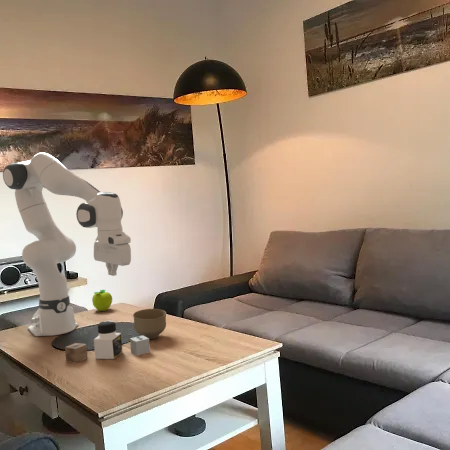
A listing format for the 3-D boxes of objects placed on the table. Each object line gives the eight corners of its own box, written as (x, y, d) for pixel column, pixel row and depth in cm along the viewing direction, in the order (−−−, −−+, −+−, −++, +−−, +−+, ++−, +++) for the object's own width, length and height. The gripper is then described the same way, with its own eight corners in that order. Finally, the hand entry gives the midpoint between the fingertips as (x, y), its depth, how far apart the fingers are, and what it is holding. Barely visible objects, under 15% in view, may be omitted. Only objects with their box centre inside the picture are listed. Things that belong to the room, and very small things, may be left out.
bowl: (144, 345, 181) (142, 319, 180) (129, 338, 191) (127, 312, 190) (173, 337, 188) (172, 312, 187) (158, 330, 198) (156, 306, 198)
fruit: (89, 312, 235) (87, 292, 234) (100, 307, 244) (98, 287, 243) (106, 313, 232) (104, 292, 231) (116, 308, 241) (114, 288, 240)
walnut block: (66, 361, 169) (65, 346, 169) (77, 356, 174) (76, 342, 173) (76, 363, 167) (75, 348, 166) (87, 358, 171) (86, 343, 171)
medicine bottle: (114, 359, 168) (111, 325, 167) (94, 359, 169) (92, 325, 168) (122, 352, 175) (120, 319, 174) (104, 352, 176) (101, 319, 175)
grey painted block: (131, 352, 175) (129, 337, 174) (143, 348, 178) (142, 334, 177) (136, 355, 171) (135, 341, 170) (149, 352, 173) (148, 337, 173)
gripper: (88, 236, 183) (90, 273, 184) (117, 240, 168) (119, 280, 170) (103, 234, 187) (105, 270, 189) (133, 238, 173) (135, 277, 174)
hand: (112, 275), depth 179 cm, fingers closed
